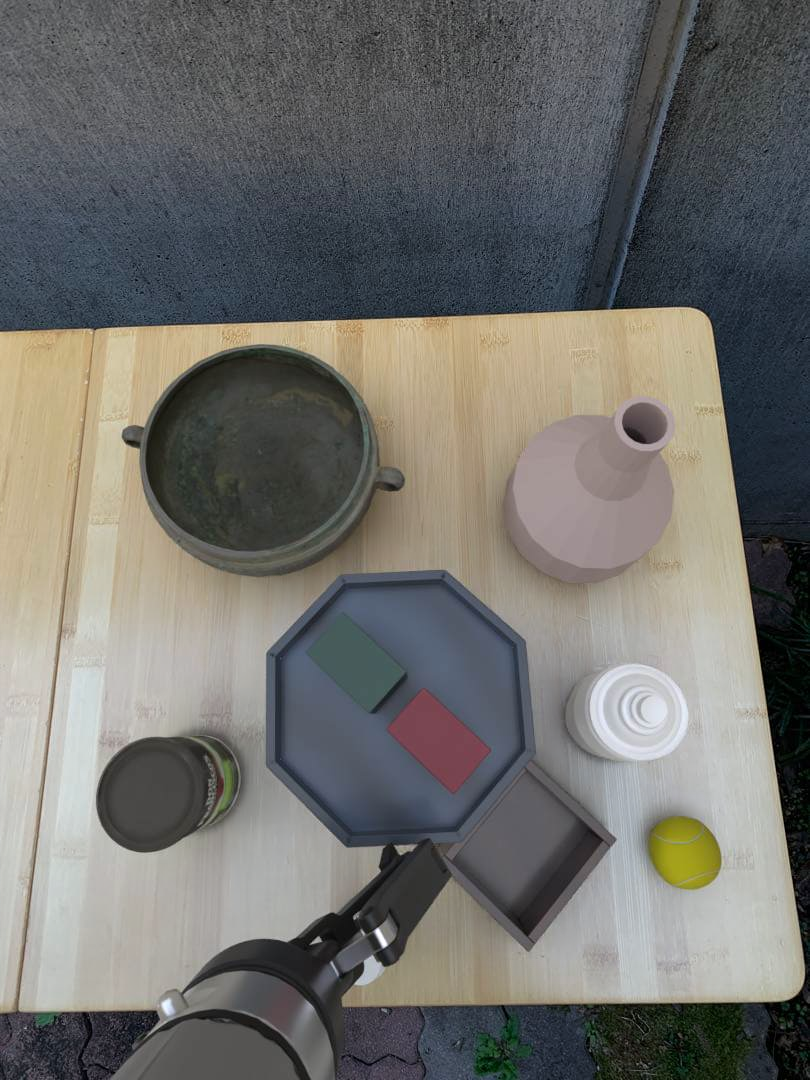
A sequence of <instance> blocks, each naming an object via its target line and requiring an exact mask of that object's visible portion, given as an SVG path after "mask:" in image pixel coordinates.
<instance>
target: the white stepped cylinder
mask: <svg viewBox="0 0 810 1080" xmlns="http://www.w3.org/2000/svg"><path fill="white" fill-rule="evenodd" d="M564 721H565V725H566V729H567V731H568V733H569V735H570V737H571V738H572V740H573V741H574V742H575V743H576V744H577V745H578V746H579V747H580V748H581V749H582V750H584V751H585V752H587V753H589V754H591V755H593V756H596V757H599V758H602V759H603V758H604V759H608V760H611V761H615V762H625V763H648V762H653V761H657V760H659V759H662V758H664V757H665V756H668V754H670V753H672V752H673V751H675V749H676V748H677V747H678V746H679V745H680V744H681V743H682V741H683V740H684V738H685V736H686V733H687V731H688V727H689V707H688V703H687V700H686V697H685V695H684V693H683V692H682V690H681V688H680V687H679V686H678V684H677V683H676V682H675V681H674V680H673V678H671V677H670V676H669V675H667V674H666V673H664V671H661V670H659V669H657V668H656V667H654V666H653V667H652V666H651V665H648V664H644V663H641V662H632V661H631V662H621V663H616V664H613V665H610V666H607V667H604V668H601V669H598V670H596V671H594V672H592V673H590V674H587V675H586V676H583V677H582V678H581V679H580V680H578V682H577V683H576V684H575V685H574V686H573V689H572V691H571V693H570V695H569V698H568V700H567V702H566V706H565V709H564Z"/></svg>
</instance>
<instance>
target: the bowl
mask: <svg viewBox="0 0 810 1080" xmlns="http://www.w3.org/2000/svg"><path fill="white" fill-rule="evenodd" d="M121 439H122V441H123V442H124V444H125V445H126V446H128V447H131V448H133V449H138V450H139V456H138V457H139V458H138V462H139V463H138V464H139V470H140V471H139V472H140V478H141V485H142V490H143V493H144V497H145V500H146V503H147V505H148V508H149V510H150V513H151V514H152V516H153V518H154V520H155V521H156V522H157V523H158V525H159V526H160V527H161V529H162V530H163V531H164V532H165V534H166V535H167V536H168V537H169V538H170V539H171V540H172V541H173V542H174V543H175V544H176V545H178V547H180V548H181V549H182V550H183V551H185V553H187V554H188V555H190V556H192V557H193V558H195V559H196V560H198V561H199V562H201V563H203V564H205V565H207V566H209V567H211V568H214V569H215V570H219V571H221V572H225V573H229V574H233V575H237V576H243V577H244V576H245V577H254V578H255V577H256V578H265V577H266V578H267V577H275V576H276V577H277V576H283V575H287V574H292V573H295V572H299V571H301V570H303V569H305V568H306V569H307V568H308V567H310V566H313V565H315V564H317V563H319V562H321V561H323V560H324V559H325V558H327V557H329V556H330V555H331V554H332V553H334V552H335V551H336V550H338V549H339V548H340V547H342V545H343V544H344V543H345V542H346V541H347V540H349V538H350V537H351V536H352V535H353V534H354V532H355V531H356V530H357V529H358V527H359V525H360V524H361V522H362V521H363V520H364V518H365V516H366V514H367V513H368V510H369V508H370V506H371V504H372V501H373V499H374V495H375V493H376V490H381V491H384V492H385V491H386V492H399V491H401V489H403V488H404V486H405V483H406V479H405V475H404V473H403V472H402V471H401V470H400V469H398V468H396V467H392V466H381V465H380V449H379V448H380V447H379V440H378V435H377V431H376V428H375V424H374V422H373V419H372V415H371V413H370V411H369V408H368V406H367V405H366V402H365V401H364V399H363V397H362V396H361V395H360V393H359V392H358V391H357V389H356V388H355V387H354V386H353V385H352V384H351V382H350V381H349V380H348V379H347V378H346V377H345V376H344V375H342V374H341V373H340V372H338V371H337V370H336V369H335V368H334V367H333V366H331V365H330V364H328V363H327V362H325V361H324V360H322V359H321V358H318V356H315V355H313V354H310V353H308V352H306V351H302V350H299V349H296V348H293V347H290V346H284V345H278V344H265V343H256V344H249V345H242V346H236V347H235V346H234V347H232V348H231V347H230V348H228V349H224V350H221V351H218V352H216V353H214V354H211V355H209V356H207V357H205V358H203V359H200V360H199V361H197V362H196V363H194V364H193V365H192V366H190V367H189V368H188V369H186V370H185V371H183V372H182V373H181V374H179V376H177V377H176V378H175V379H174V380H173V381H172V382H171V383H170V384H169V385H168V386H167V387H166V388H165V389H164V391H163V392H162V393H161V395H160V397H159V398H158V399H157V400H156V402H155V404H154V405H153V407H152V409H151V411H150V413H149V415H148V417H147V420H146V422H145V425H144V426H142V425H137V424H133V425H128V426H127V427H125V428H123V429H122V432H121Z"/></svg>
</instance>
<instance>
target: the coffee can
mask: <svg viewBox="0 0 810 1080" xmlns="http://www.w3.org/2000/svg"><path fill="white" fill-rule="evenodd" d="M241 783H242V774H241V768H240V764H239V761H238V759H237V757H236V755H235V753H234V752H233V750H232V749H231V748H230V747H229V745H227V744H226V743H225V742H224V741H222V740H221V739H219V738H217V737H214V736H211V735H207V734H193V735H183V736H168V737H167V736H149V737H142V738H140V739H137V740H134V741H132V742H130V743H129V744H128V743H127V744H126V745H125V746H123V747H122V748H120V750H118V751H117V752H116V753H115V754H114V755H113V756H112V757H111V758H110V760H109V761H108V762H107V764H106V766H105V767H104V768H103V770H102V772H101V774H100V777H99V780H98V783H97V786H96V793H95V807H96V814H97V817H98V820H99V823H100V826H101V827H102V829H103V830H104V832H105V833H106V834H107V836H108V837H109V838H110V839H111V840H112V841H113V842H114V843H115V844H116V845H118V846H120V847H122V848H123V849H126V850H128V851H131V852H135V853H141V854H145V853H146V854H147V853H156V852H159V851H163V850H166V849H169V848H171V847H172V846H174V845H176V844H178V843H179V842H180V841H181V840H182V839H185V838H186V837H188V836H190V835H192V834H195V833H197V832H198V831H200V830H202V829H204V828H207V827H209V826H212V825H214V824H215V823H217V822H219V821H221V820H222V819H223V818H224V817H225V816H226V815H227V814H228V813H229V812H230V810H231V809H232V808H233V806H234V804H235V802H236V800H237V798H238V796H239V793H240V790H241Z"/></svg>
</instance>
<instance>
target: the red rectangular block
mask: <svg viewBox="0 0 810 1080" xmlns="http://www.w3.org/2000/svg"><path fill="white" fill-rule="evenodd" d="M386 730H387V731H388V732H389V733H390V734H391V735H392V736H393V737H394V738H395V739H396V740H397V741H398V742H399V743H400V744H401V745H402V746H403V747H404V748H405V749H406V750H407V751H408V752H410V753H411V754H412V755H413V756H414V757H415V758H416V759H417V760H418V761H419V762H420V763H421V764H422V765H423V766H424V767H425V768H426V769H427V770H428V771H429V772H430V773H432V774H433V775H434V776H435V777H436V778H437V779H438V780H439V781H440V782H441V783H442V784H443V785H444V786H445V787H446V788H447V789H448V790H449V791H450V792H451V793H452V794H455V793H456V792H457V790H458V789H459V788H460V787H461V786H462V784H463V783H464V782H465V781H466V780H467V779H468V777H469V776H470V775H471V774H472V773H473V771H474V770H475V769H476V768H477V767H478V766H479V764H480V763H481V762H482V761H483V760H484V758H485V757H486V756H487V755H488V754H489V753H490V751H491V749H490V748H489V747H488V746H487V745H486V744H485V743H484V742H483V741H481V740H480V739H479V738H478V737H477V736H476V735H475V734H474V733H473V732H472V731H471V730H470V729H468V728H467V727H466V726H465V725H464V724H463V723H462V722H461V721H460V720H459V719H458V718H457V717H456V716H454V715H453V714H452V713H451V712H450V711H449V710H448V709H447V708H446V707H445V706H444V705H443V704H442V703H440V702H439V701H438V700H437V699H436V698H435V697H434V696H433V695H432V694H431V693H430V692H429V691H428V690H426V689H425V688H424V687H423V688H422V689H421V690H420V692H419V693H418V694H417V695H416V696H415V697H414V698H413V699H412V701H411V702H410V703H409V704H408V705H407V706H406V707H405V708H404V710H403V711H402V712H401V713H400V714H399V715H398V716H397V717H396V719H395V720H394V721H393V722H392V723H391V724H390V725H389V726H388V728H387V729H386Z"/></svg>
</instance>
